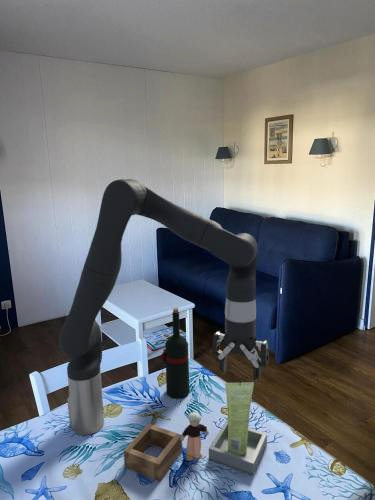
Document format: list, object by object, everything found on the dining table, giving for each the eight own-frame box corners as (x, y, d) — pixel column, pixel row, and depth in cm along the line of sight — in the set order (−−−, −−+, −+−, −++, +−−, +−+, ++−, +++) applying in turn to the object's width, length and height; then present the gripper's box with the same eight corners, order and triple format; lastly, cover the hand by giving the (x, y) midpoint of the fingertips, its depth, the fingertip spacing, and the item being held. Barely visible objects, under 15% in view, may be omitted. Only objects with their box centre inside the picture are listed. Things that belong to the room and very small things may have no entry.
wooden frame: (124, 467, 96) (123, 450, 95) (149, 439, 106) (148, 423, 105) (159, 482, 92) (159, 464, 90) (182, 451, 102) (181, 434, 100)
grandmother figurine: (185, 465, 96) (184, 421, 94) (179, 455, 100) (178, 413, 97) (211, 455, 100) (211, 412, 97) (204, 445, 103) (203, 404, 101)
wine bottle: (161, 385, 133) (157, 304, 126) (189, 385, 132) (188, 304, 126) (158, 399, 125) (155, 313, 119) (189, 399, 125) (187, 313, 118)
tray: (208, 459, 98) (208, 448, 98) (225, 431, 109) (225, 421, 108) (253, 475, 93) (253, 463, 92) (266, 444, 103) (267, 433, 103)
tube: (237, 439, 104) (238, 374, 101) (252, 448, 101) (254, 381, 97) (224, 450, 101) (225, 382, 97) (239, 459, 97) (241, 390, 93)
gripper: (273, 314, 93) (271, 374, 96) (219, 306, 99) (219, 362, 103) (264, 325, 86) (262, 389, 90) (207, 315, 93) (207, 375, 96)
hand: (239, 375), depth 96 cm, fingers open, 8 cm apart
